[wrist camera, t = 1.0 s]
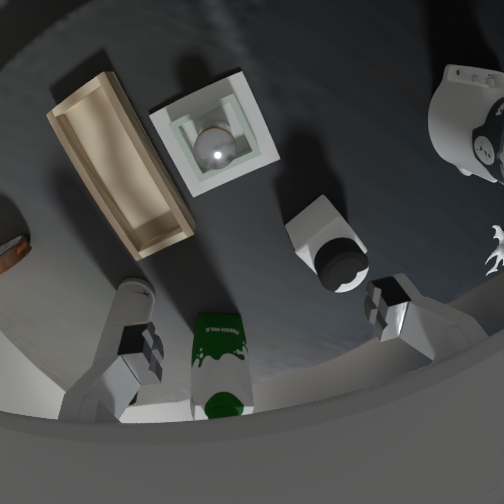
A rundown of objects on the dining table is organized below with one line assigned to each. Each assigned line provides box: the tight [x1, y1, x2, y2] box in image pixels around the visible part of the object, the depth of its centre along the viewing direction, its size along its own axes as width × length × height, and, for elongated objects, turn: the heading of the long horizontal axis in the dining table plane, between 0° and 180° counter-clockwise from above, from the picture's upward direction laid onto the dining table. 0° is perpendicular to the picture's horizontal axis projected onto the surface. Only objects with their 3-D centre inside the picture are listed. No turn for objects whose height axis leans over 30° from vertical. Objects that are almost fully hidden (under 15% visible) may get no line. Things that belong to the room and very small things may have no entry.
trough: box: [46, 71, 196, 261], centre depth 34 cm, size 9×23×4 cm, turn 23°
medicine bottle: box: [285, 195, 369, 292], centre depth 38 cm, size 7×7×12 cm
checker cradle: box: [149, 71, 280, 197], centre depth 34 cm, size 12×12×3 cm
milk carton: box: [190, 313, 254, 421], centre depth 43 cm, size 9×9×20 cm
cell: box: [194, 120, 236, 170], centre depth 31 cm, size 4×4×8 cm
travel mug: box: [92, 278, 155, 405], centre depth 37 cm, size 6×7×20 cm
